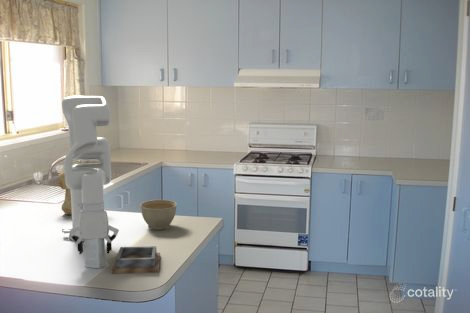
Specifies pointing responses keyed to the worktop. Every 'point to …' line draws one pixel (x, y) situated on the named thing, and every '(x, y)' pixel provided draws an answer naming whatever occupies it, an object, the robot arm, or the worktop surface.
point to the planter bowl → (158, 213)
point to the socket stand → (136, 260)
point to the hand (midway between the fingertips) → (94, 252)
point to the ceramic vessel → (67, 203)
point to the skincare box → (94, 252)
